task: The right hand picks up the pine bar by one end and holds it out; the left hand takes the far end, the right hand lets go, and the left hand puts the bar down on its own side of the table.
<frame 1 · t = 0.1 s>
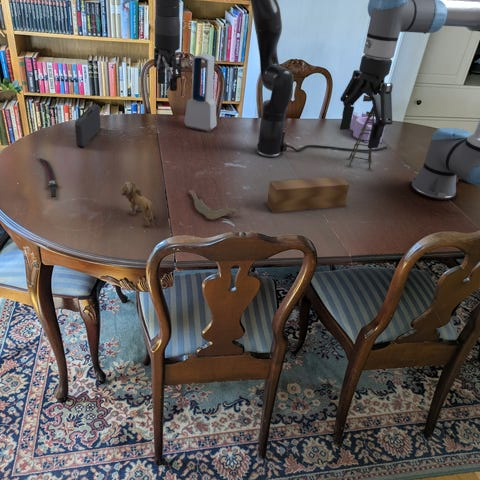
left hand: (167, 86, 148), 29 cm above the table, tool pointing down, fingers open, 8 cm apart
right hand: (357, 138, 128), 28 cm above the table, tool pointing down, fingers open, 13 cm apart
clip: (364, 134, 216), on the table
lion figurine: (139, 216, 136), on the table
handheld gaming console: (89, 137, 183), on the table
electronic device: (200, 128, 203), on the table
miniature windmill: (358, 164, 185), on the table
jawbone: (212, 205, 146), on the table
bar: (305, 205, 152), on the table
sword: (47, 177, 151), on the table
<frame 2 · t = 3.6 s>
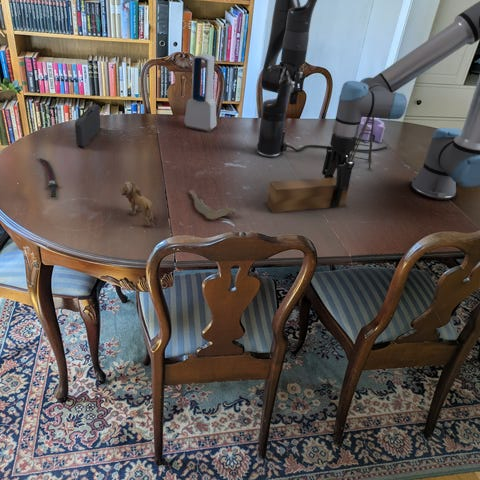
left hand: (287, 100, 150), 29 cm above the table, tool pointing down, fingers open, 8 cm apart
right hand: (329, 201, 154), 1 cm above the table, tool pointing down, fingers closed on bar, 5 cm apart
bar: (305, 205, 152), on the table, touching right hand
everything else where it was.
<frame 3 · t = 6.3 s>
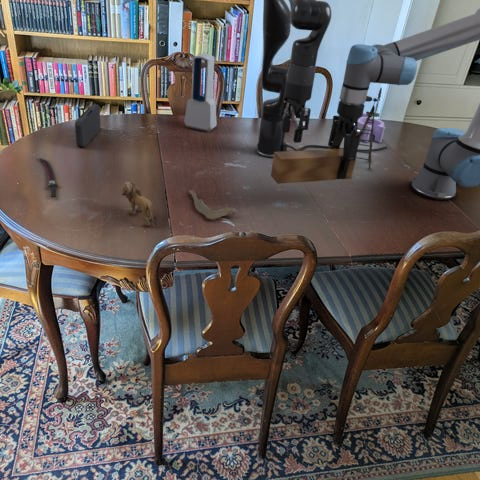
left hand: (291, 137, 137), 23 cm above the table, tool pointing down, fingers open, 8 cm apart
right hand: (336, 174, 149), 11 cm above the table, tool pointing down, fingers closed on bar, 5 cm apart
bar: (311, 177, 146), point 10 cm above the table, touching right hand
everything else where it was.
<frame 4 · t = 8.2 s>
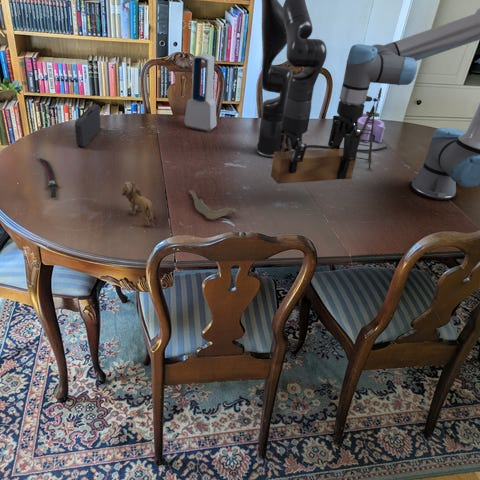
left hand: (288, 168, 142), 14 cm above the table, tool pointing down, fingers closed on bar, 5 cm apart
right hand: (336, 174, 149), 11 cm above the table, tool pointing down, fingers closed on bar, 5 cm apart
bar: (311, 177, 146), point 10 cm above the table, touching left hand, right hand
everything else where it was.
when the right hand's fingers open (11 cm above the table, at t = 9.0 s): bar stays where it is, held by the left hand.
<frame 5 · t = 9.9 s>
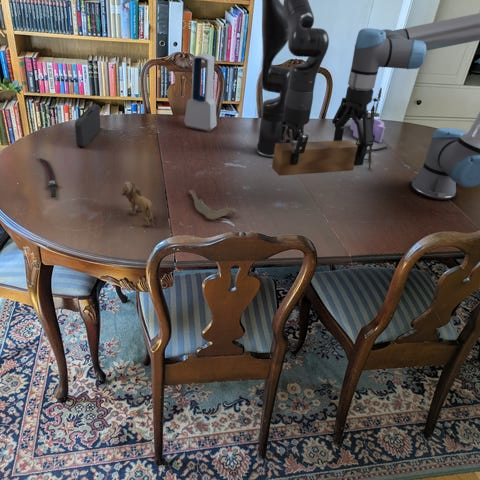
left hand: (289, 160, 140), 16 cm above the table, tool pointing down, fingers closed on bar, 5 cm apart
right hand: (346, 156, 146), 17 cm above the table, tool pointing down, fingers open, 13 cm apart
bar: (313, 169, 145), point 13 cm above the table, touching left hand
everything else where it was.
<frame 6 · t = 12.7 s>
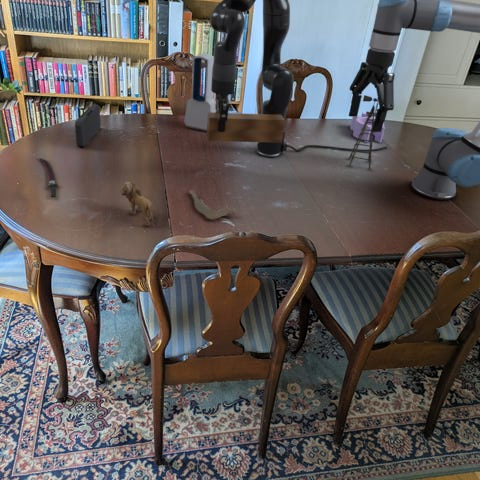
left hand: (220, 128, 158), 16 cm above the table, tool pointing down, fingers closed on bar, 5 cm apart
right hand: (364, 123, 142), 27 cm above the table, tool pointing down, fingers open, 13 cm apart
bar: (244, 138, 161), point 13 cm above the table, touching left hand
everything else where it was.
when the left hand's fingers open (5 cm above the table, at t = 17.3 s): bar drops 1 cm, on the table.
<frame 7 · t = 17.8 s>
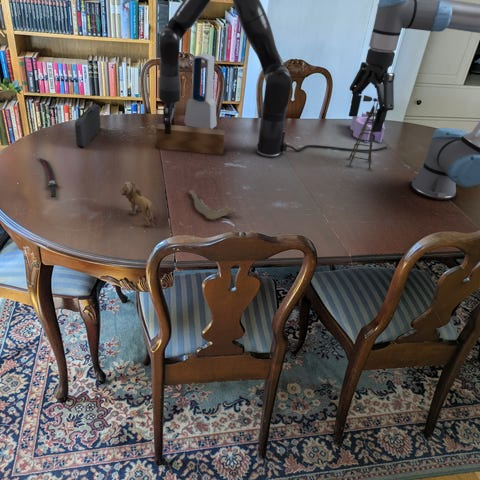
left hand: (169, 130, 178), 7 cm above the table, tool pointing down, fingers open, 8 cm apart
right hand: (364, 123, 142), 27 cm above the table, tool pointing down, fingers open, 13 cm apart
bar: (190, 149, 182), on the table
everything else where it was.
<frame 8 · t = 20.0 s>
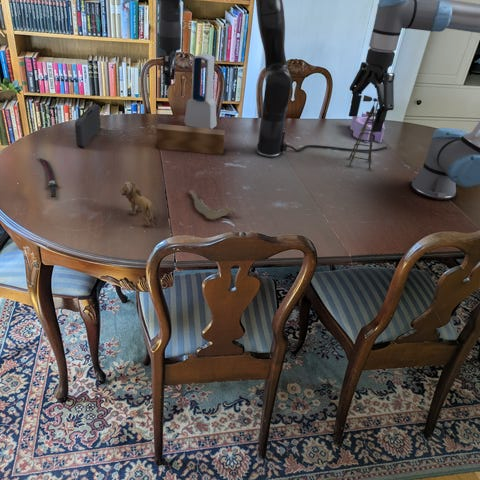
left hand: (169, 82, 169), 25 cm above the table, tool pointing down, fingers open, 8 cm apart
right hand: (364, 123, 142), 27 cm above the table, tool pointing down, fingers open, 13 cm apart
nothing on the table moved.
at the end: bar inside the target area (8.5 cm from its centre), on the table; the left hand is holding nothing; the right hand is holding nothing; bar at rest at the end (0.0 cm/s) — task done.
